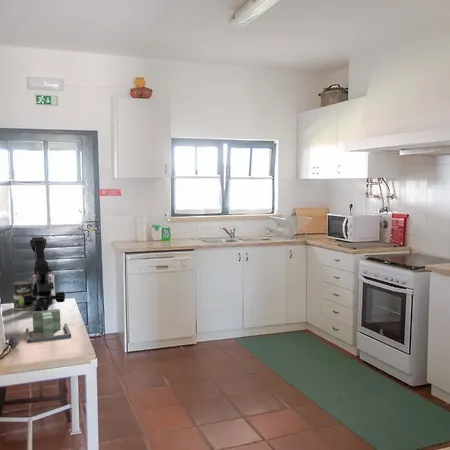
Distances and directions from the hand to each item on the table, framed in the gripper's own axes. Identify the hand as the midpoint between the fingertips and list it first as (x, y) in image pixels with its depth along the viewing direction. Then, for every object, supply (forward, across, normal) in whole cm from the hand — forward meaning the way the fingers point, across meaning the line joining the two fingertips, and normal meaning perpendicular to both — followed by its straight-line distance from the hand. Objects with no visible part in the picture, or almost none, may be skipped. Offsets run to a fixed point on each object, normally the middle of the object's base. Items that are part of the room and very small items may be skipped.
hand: (45, 313), depth 239 cm
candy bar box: (-30, +2, +41) cm, 51 cm away
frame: (+11, 0, -1) cm, 11 cm away
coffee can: (-27, -9, +38) cm, 47 cm away
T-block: (+10, 0, 0) cm, 10 cm away
